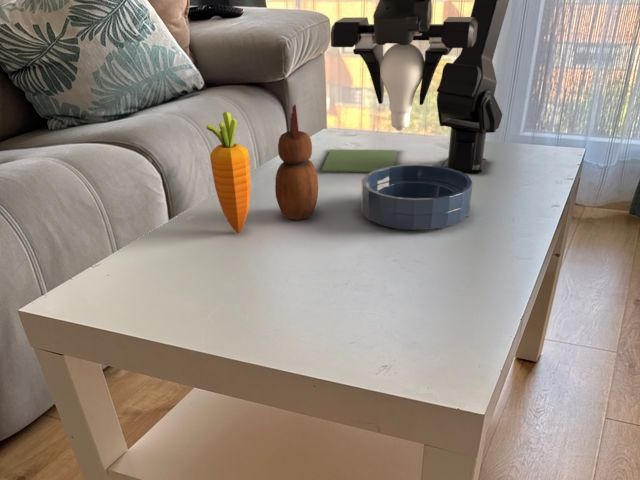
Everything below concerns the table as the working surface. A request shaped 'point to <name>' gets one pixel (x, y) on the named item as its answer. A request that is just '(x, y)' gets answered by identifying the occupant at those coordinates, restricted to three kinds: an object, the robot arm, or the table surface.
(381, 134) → the table surface
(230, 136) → the carrot
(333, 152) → the napkin
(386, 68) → the lightbulb
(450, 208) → the bowl
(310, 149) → the wooden figurine
